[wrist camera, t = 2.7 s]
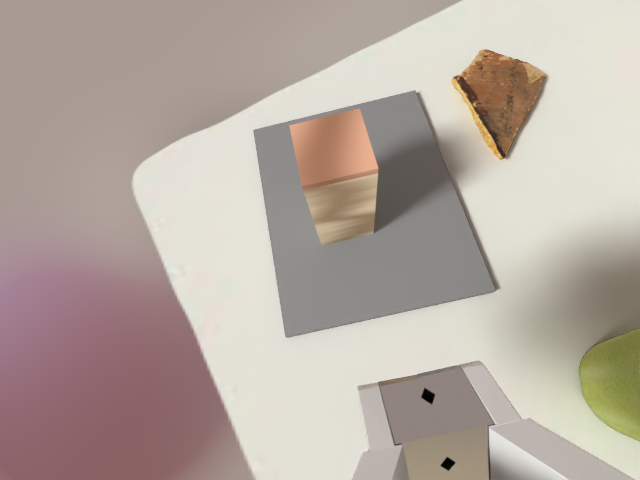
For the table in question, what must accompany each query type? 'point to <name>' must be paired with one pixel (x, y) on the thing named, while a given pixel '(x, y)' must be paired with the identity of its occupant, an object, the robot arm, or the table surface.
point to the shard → (499, 96)
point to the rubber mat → (389, 228)
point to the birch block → (337, 174)
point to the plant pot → (614, 382)
